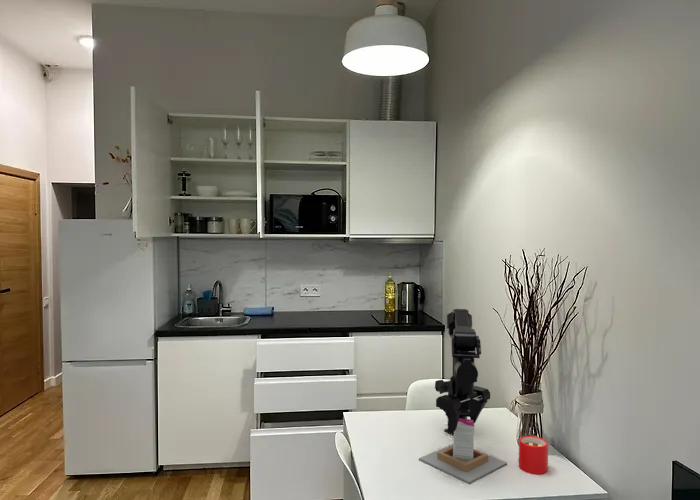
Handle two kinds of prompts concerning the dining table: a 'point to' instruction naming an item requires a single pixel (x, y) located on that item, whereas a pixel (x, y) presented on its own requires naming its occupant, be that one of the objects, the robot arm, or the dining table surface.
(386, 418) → the dining table surface
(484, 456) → the holder
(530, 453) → the mug
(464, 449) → the supplement box
